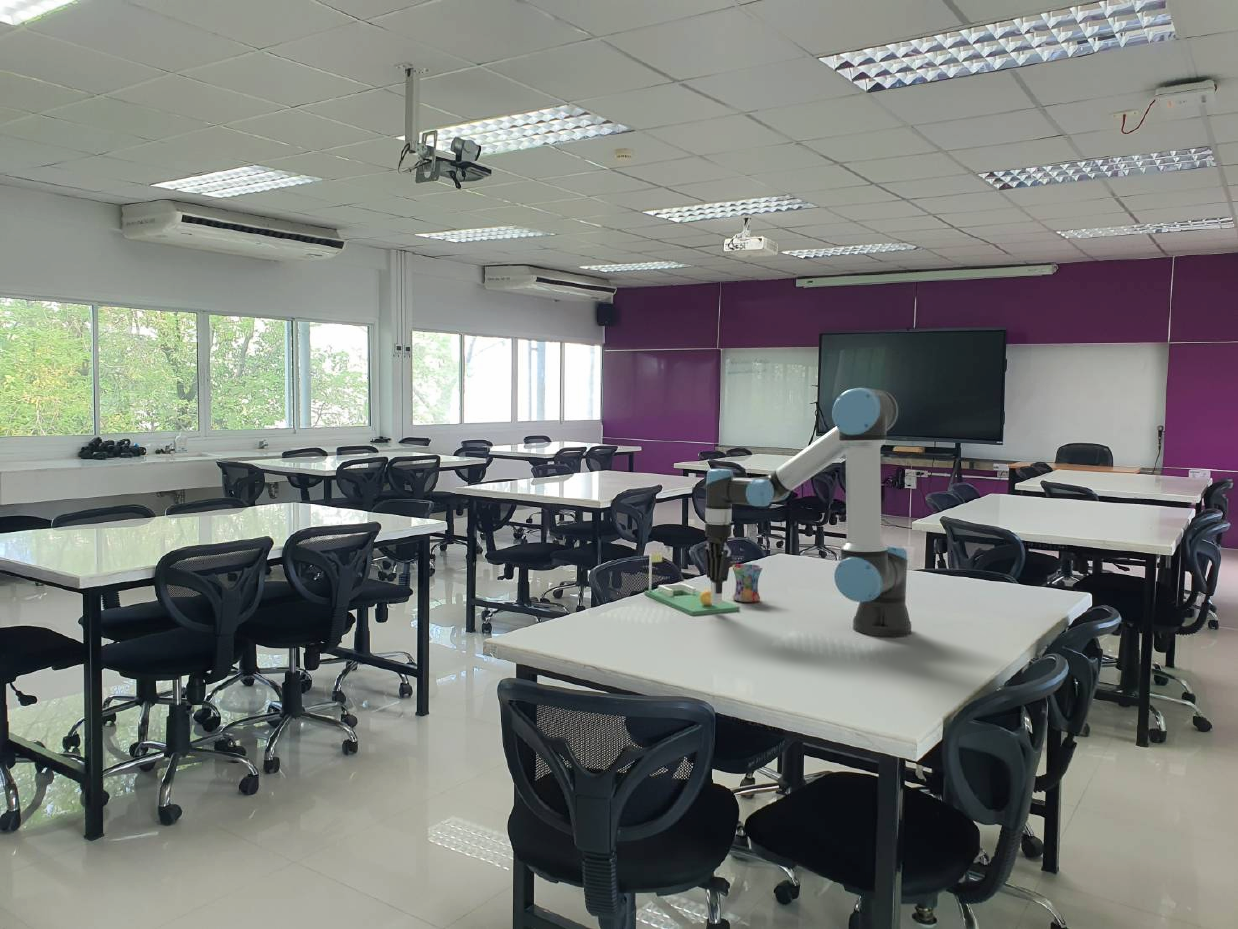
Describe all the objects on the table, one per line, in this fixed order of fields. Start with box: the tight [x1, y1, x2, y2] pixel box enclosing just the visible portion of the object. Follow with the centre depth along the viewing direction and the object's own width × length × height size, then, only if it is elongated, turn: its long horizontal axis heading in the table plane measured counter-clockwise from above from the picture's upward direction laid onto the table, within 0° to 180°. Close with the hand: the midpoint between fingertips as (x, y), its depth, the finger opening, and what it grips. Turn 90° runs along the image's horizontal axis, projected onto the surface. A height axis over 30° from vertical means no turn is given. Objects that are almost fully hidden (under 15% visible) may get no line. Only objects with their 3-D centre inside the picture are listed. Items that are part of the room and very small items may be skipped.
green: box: [644, 552, 741, 616], centre depth 263 cm, size 30×16×13 cm, turn 25°
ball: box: [700, 589, 712, 606], centre depth 254 cm, size 4×4×4 cm
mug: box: [731, 563, 763, 603], centre depth 269 cm, size 12×9×11 cm
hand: (716, 604), depth 250 cm, fingers closed
